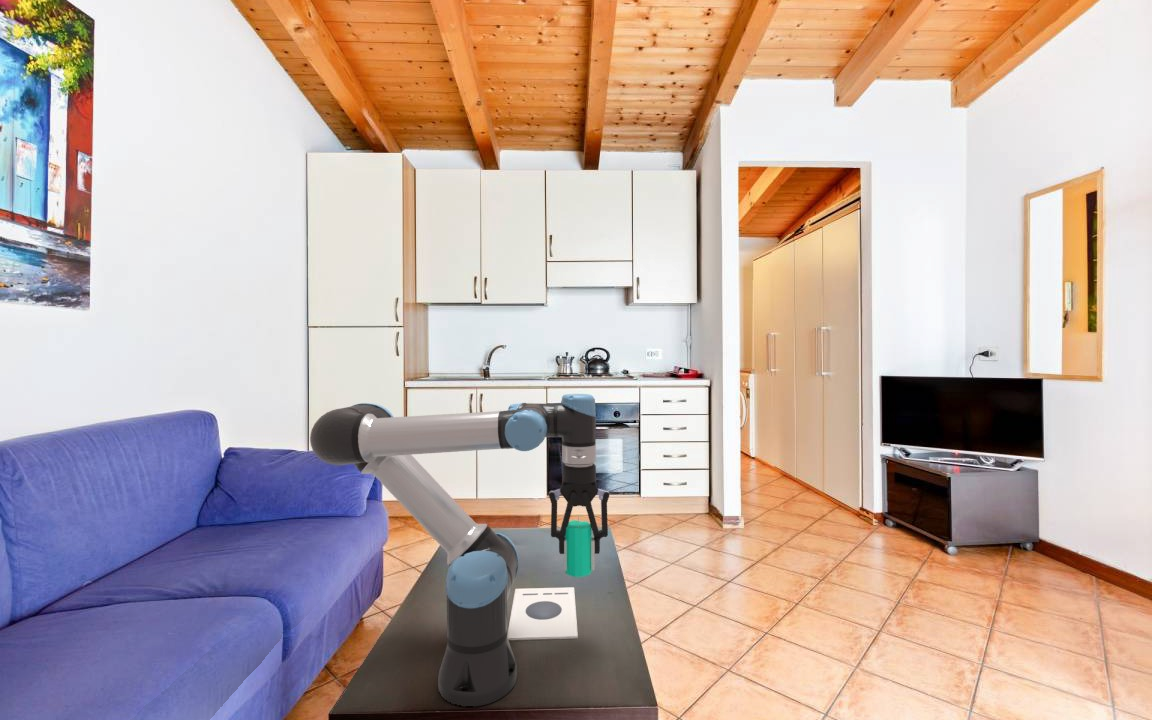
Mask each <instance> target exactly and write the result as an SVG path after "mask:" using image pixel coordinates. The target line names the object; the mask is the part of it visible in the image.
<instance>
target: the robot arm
mask: <svg viewBox="0 0 1152 720" xmlns="http://www.w3.org/2000/svg"><path fill="white" fill-rule="evenodd" d="M596 415H597V414H596V399H595V397H594V396H593V395H592V394H589V393H588V394H587V393H568V394H563V395H562V396H561V401H560V402H558V403H557V402H556V403H531V402H530V403H529V402H522V403H521V402H520V403H511V404H510V405H509V406H508V408H507V410H498V411H497V410H496V411H493V410H492V411H480V412H478V411H477V412H463V413H445V414H428V415H413V416H410V415H409V416H395V417H394V415H393V413H392V412H390V410H388V408H386V407H384V406H382V405H380V404H377V403H367V402H362V403H357V404H353V405H351V406H347V407H342V408H336V409H335V408H334V409H332V410H329V411H327V412H326V413H324V414H323V415H321V416H320V417H319V418H318V419H317V420H316V421H315V423H314V424H313V427H312V428H311V430H310V431H311V432H310V436H309V437H310V438H309V440H310V441H309V442H310V447H311V450H312V451H313V452H314V455H315V456H317V458H318V459H319V460H321V461H323V462H324V463H327V464H328V465H332V466H345V465H346V466H347V465H353V466H354V467H355V468H356V469H357V470H358V471H359V472H360V473H361V474H362V475H373V476H374V477H375V478H376V479H377V480H378V481H379V482H380V484H381V485H383V487H384V488H386V489H387V491H388V492H389V493H390V494H391V495H392V496H393V497H394V498H395V499H396V500H397V501H398V502H399V503H400V504H401V505H402V506H403V508H405V510H407V512H408V513H409V514H410V516H412V517H413V518H414V519H415V521H417V522H418V523H419V525H420V526H421V527H422V528H424V530H425V531H426V532H427V533H428V534H429V535H430V536H431V537H432V538H433V540H434V541H435V542H437V543H438V544H439V545H440V546H441V548H442V549H443V550H444V551H445V552H446V553H447V554H446V555H447V559H446V563H447V566H449V567H448V569H447V573H446V581H445V590H446V592H445V594H446V638H447V640H446V641H447V645H446V648H445V651H444V654H443V657H442V662H441V665H440V667H439V670H438V675H437V676H438V677H437V678H438V679H437V683H438V684H437V686H438V689H437V690H438V692H440V693H439V695H440V694H441V695H440V696H441V697H442V699H444V700H445V701H446V700H447V701H446V702H448V703H450V702H451V703H450V704H452V705H455V704H457V705H456V706H459V705H461V707H466V706H473V707H481V706H485V705H489V704H492V703H494V702H496V701H498V700H501V699H503V698H504V697H505V696H506V695H508V694H509V693H510V691H511V690H513V689H514V687H515V685H516V683H517V679H518V678H517V677H518V675H517V673H518V669H517V662H516V658H515V655H514V653H513V650H512V647H511V644H510V640H508V637H507V633H508V601H509V597H510V593H511V590H512V587H513V584H514V581H515V578H516V577H517V574H518V570H519V553H518V549H517V547H516V545H515V543H514V542H513V541H512V540H511V538H510V537H508V536H507V535H505V534H504V533H500V532H495V531H494V530H493V529H492V528H491V527H490V526H489V525H488V524H487V523H477V522H475V521H474V519H473V518H471V516H470V515H469V514H468V513H467V512H466V511H465V510H464V508H462V507H461V505H459V503H457V502H456V500H455V499H454V498H453V497H452V496H451V495H450V494H449V493H448V492H447V491H446V490H445V489H444V488H443V486H442V485H440V484H439V482H437V480H436V479H435V478H434V477H433V476H432V475H431V474H430V473H429V471H427V469H425V468H424V466H423V465H422V464H420V462H419V461H418V460H417V459H416V458H415V457H414V456H413V455H423V454H425V455H426V454H439V453H452V452H454V453H457V452H469V451H471V452H472V451H473V452H474V451H486V450H487V451H489V450H510V449H515V450H517V451H520V452H529V451H532V450H535V449H536V448H538V447H539V446H540V445H541V444H542V443H543V442H544V440H545V438H561V462H562V463H563V464H562V465H561V466H562V467H561V474H562V475H561V478H562V479H561V480H562V482H561V485H560V487H559V488H558V489H556V490H553V489H551V490H550V491H549V492H548V498H549V500H550V503H551V504H550V505H551V513H550V515H551V516H550V536H551V538H556V539H558V553H559V555H564V557H563V560H564V565H563V567H564V568H563V569H564V571H565V570H567V541H566V540H565V534H566V527H567V526H568V523H569V522H570V518H571V514H572V511H573V508H574V507H584V508H585V511H586V513H587V516H588V520H589V523H590V524H591V532H592V535H593V536H592V535H591V570H592V571H595V567H596V566H595V565H596V563H595V561H596V559H595V558H596V555H598V554H600V552H601V547H600V546H601V542H600V540H601V539H602V538H607V537H608V536H609V532H608V530H609V527H608V525H609V524H608V501H609V498H610V492H609V490H608V489H601V488H598V485H597V465H596V464H595V463H596V461H597V453H596V452H597V447H596V446H597V444H596V432H597V430H596V427H597V421H596V420H597V416H596ZM561 495H562V497H563V498H564V500H565V501H566V502H567V503H566V507H565V510H564V511H565V512H564V515H563V518H562V523H561V526H560V530H558V501H559V500H560V496H561ZM597 495H598V499H599V500H600V509H601V510H600V511H601V512H600V513H601V529H600V530H599V527H598V524H597V520H596V517H595V513H594V509H593V506H592V502H593V500H594V499H595V497H596V496H597ZM462 705H463V706H462Z"/></svg>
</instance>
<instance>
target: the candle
mask: <svg viewBox="0 0 1152 720" xmlns="http://www.w3.org/2000/svg"><path fill="white" fill-rule="evenodd" d="M591 536H592V528H591V524H590V521H582V520H579V517H577V520H575V519H574V520H573V519H572V520H569V523H568V526H567V527H566V534H565V540H566V541H567V570H564V571H565V574H566V575H568V576H570V577H572V578H573V577H574V578H583V577H584V578H585V577H586V576H589V575H591V574H592V573H593V570H591Z"/></svg>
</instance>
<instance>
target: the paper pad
mask: <svg viewBox="0 0 1152 720" xmlns="http://www.w3.org/2000/svg"><path fill="white" fill-rule="evenodd" d="M512 600H513V601H512V606H511V611H510V612H511V613H510V619H509V624H508V627H507V637H508V641H527V640H528V641H529V640H562V639H563V640H567V639H568V640H569V639H579V637H578V636H579V635H578V623H577V608H576V596H575V587H574V586H573V587H540V588H539V587H538V588H537V587H536V588H535V587H534V588H533V587H532V588H531V587H530V588H515V590H514V595H513V599H512Z"/></svg>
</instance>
